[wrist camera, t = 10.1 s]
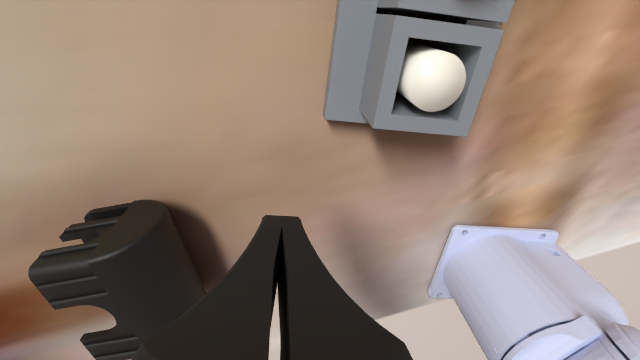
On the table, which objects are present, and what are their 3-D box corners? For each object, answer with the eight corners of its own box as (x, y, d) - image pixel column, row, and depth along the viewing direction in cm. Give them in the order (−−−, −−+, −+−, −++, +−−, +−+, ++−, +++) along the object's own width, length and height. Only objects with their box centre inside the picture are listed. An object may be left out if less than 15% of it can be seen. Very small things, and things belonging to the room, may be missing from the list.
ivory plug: (434, 45, 19) (474, 55, 15) (422, 92, 20) (455, 114, 16) (389, 39, 19) (416, 48, 15) (379, 88, 20) (402, 109, 16)
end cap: (223, 286, 27) (205, 363, 22) (141, 300, 27) (101, 381, 22) (181, 186, 23) (143, 250, 17) (82, 204, 23) (9, 274, 17)
